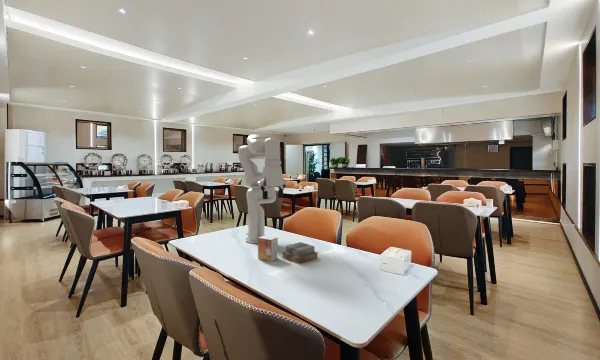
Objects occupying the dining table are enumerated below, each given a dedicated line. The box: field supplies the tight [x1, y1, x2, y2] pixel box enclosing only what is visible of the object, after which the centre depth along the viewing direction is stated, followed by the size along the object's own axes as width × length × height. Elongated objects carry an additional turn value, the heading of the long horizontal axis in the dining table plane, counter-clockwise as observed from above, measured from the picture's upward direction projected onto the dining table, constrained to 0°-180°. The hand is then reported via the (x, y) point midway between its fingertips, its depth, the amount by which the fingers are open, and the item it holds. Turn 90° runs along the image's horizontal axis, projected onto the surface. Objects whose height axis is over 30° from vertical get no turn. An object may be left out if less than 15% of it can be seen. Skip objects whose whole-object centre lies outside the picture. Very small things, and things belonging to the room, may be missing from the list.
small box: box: [257, 235, 279, 262], centre depth 142 cm, size 8×6×10 cm
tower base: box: [282, 241, 318, 265], centre depth 143 cm, size 12×12×6 cm
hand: (273, 198), depth 145 cm, fingers open, 9 cm apart
